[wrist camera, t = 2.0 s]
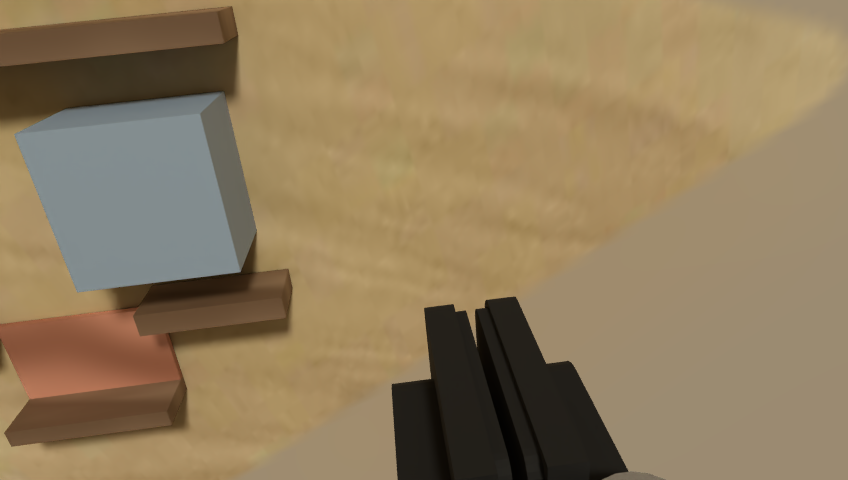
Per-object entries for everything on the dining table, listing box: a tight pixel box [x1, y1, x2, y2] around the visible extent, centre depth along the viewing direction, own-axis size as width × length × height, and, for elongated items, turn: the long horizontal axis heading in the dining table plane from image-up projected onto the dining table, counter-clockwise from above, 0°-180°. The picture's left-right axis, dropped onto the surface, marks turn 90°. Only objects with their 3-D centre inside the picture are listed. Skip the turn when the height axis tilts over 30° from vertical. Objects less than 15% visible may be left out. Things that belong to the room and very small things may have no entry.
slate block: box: [14, 91, 257, 292], centre depth 23 cm, size 6×6×4 cm
